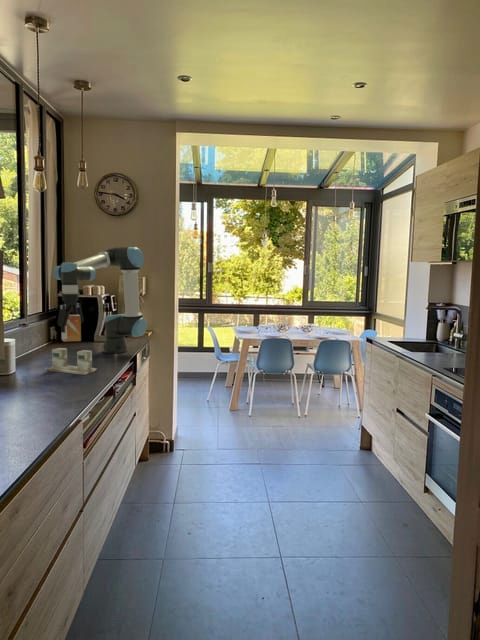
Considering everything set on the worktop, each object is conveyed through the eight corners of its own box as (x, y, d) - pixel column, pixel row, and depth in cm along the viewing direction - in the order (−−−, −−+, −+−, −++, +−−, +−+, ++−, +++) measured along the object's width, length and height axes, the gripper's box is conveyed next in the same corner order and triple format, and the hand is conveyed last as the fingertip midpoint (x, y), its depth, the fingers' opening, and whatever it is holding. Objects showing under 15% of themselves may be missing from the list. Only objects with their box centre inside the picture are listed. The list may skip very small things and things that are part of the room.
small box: (64, 342, 218) (63, 316, 217) (61, 340, 224) (61, 314, 222) (81, 340, 223) (80, 315, 221) (78, 339, 228) (77, 314, 227)
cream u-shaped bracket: (61, 366, 233) (60, 347, 232) (96, 370, 227) (96, 350, 226) (47, 370, 224) (46, 350, 222) (84, 374, 217) (84, 353, 216)
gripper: (78, 291, 232) (79, 333, 235) (48, 294, 211) (49, 340, 213) (90, 292, 230) (91, 334, 233) (61, 294, 209) (62, 341, 211)
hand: (71, 337), depth 223 cm, fingers closed on small box, 10 cm apart
